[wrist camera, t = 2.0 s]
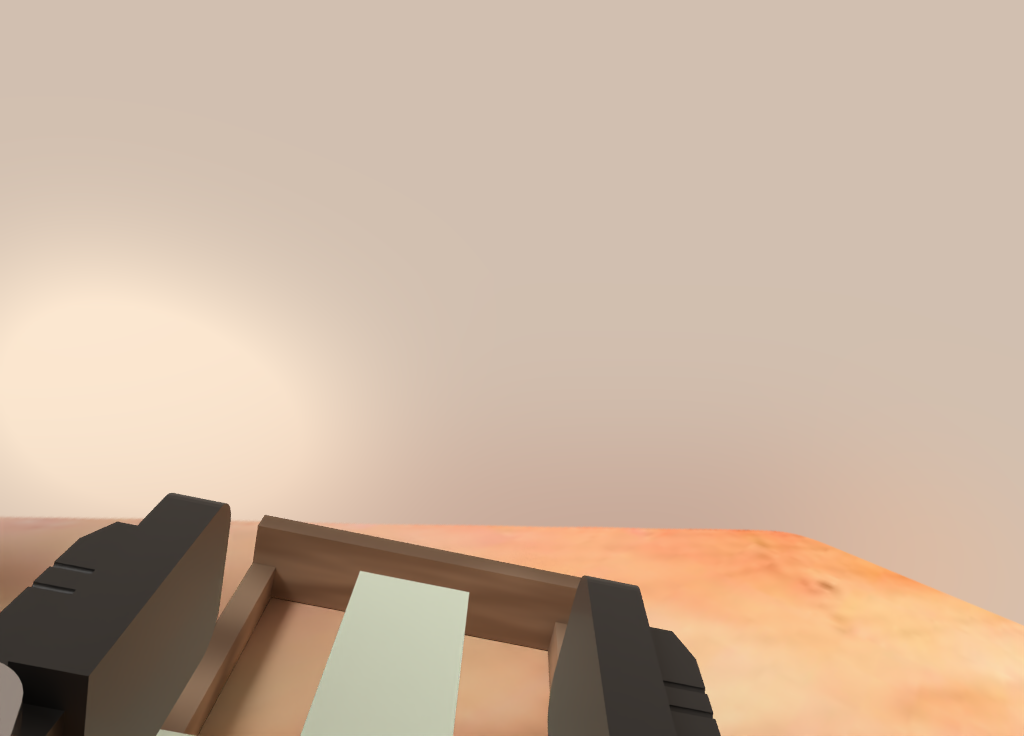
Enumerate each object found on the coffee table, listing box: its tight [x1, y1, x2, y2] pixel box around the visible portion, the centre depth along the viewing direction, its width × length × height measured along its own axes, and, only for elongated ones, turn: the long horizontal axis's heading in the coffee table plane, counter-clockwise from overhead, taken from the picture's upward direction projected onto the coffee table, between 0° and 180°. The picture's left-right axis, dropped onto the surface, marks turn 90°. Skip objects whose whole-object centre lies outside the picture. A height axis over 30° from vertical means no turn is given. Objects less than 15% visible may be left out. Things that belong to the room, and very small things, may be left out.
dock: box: [161, 515, 581, 736], centre depth 37 cm, size 16×17×4 cm
